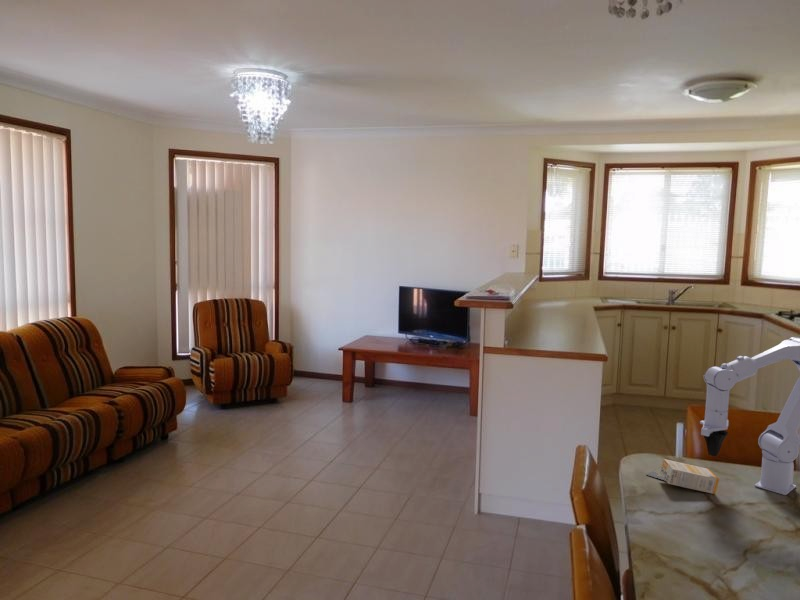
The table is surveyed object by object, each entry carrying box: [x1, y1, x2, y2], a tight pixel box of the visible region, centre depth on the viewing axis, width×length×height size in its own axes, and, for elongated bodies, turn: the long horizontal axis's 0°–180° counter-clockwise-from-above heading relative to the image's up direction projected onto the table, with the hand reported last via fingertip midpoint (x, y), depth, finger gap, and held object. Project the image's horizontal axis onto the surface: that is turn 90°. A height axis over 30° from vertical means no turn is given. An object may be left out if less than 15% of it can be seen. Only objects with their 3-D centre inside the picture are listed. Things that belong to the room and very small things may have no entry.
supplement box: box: [660, 458, 720, 495], centre depth 170 cm, size 8×5×13 cm
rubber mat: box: [645, 470, 686, 489], centre depth 178 cm, size 13×12×1 cm
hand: (713, 455), depth 170 cm, fingers closed
